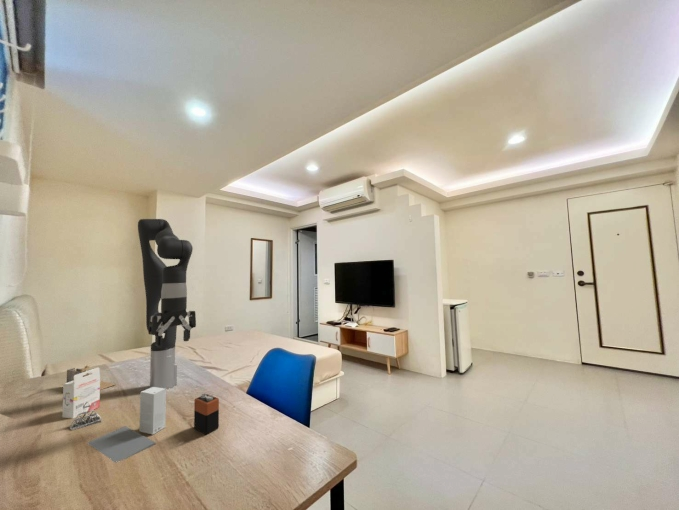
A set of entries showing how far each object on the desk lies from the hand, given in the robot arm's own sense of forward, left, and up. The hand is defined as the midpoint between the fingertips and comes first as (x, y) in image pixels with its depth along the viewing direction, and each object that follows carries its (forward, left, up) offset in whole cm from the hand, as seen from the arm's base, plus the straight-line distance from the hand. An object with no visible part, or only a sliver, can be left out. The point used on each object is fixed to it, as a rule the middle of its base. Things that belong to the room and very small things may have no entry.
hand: (173, 343), depth 90 cm
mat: (+16, +1, -25) cm, 30 cm away
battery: (-2, +16, -25) cm, 30 cm away
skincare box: (+6, +1, -25) cm, 26 cm away
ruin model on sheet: (+4, -66, -25) cm, 71 cm away
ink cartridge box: (+12, -34, -25) cm, 44 cm away
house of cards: (+14, -24, -25) cm, 37 cm away
